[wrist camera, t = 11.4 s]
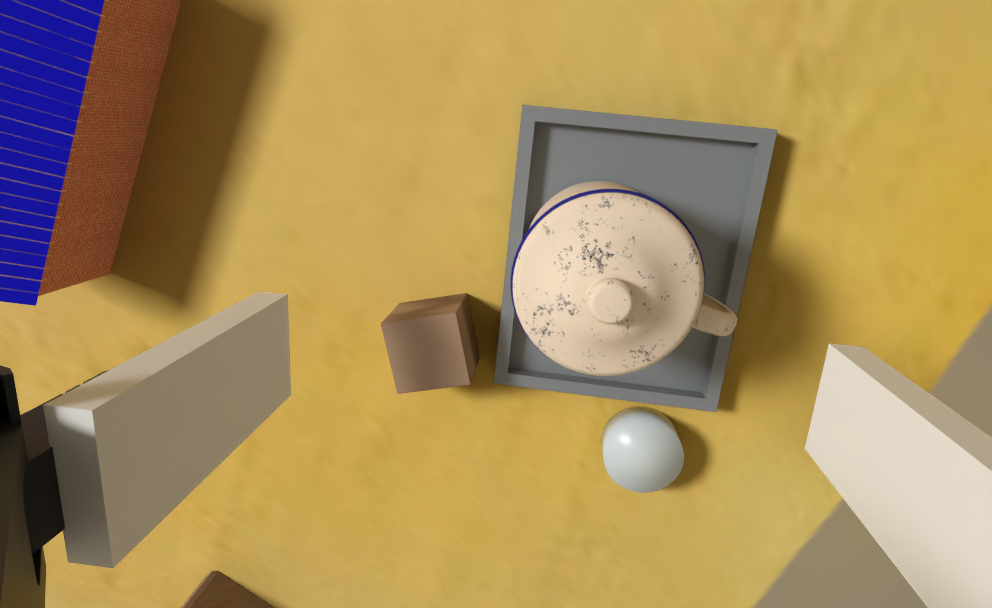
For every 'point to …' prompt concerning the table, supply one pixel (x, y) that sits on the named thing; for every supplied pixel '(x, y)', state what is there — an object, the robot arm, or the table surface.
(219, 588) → the decorative block
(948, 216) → the table surface
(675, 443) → the white egg-shaped dome
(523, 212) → the tray
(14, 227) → the house
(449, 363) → the walnut cube
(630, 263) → the teacup with lid
